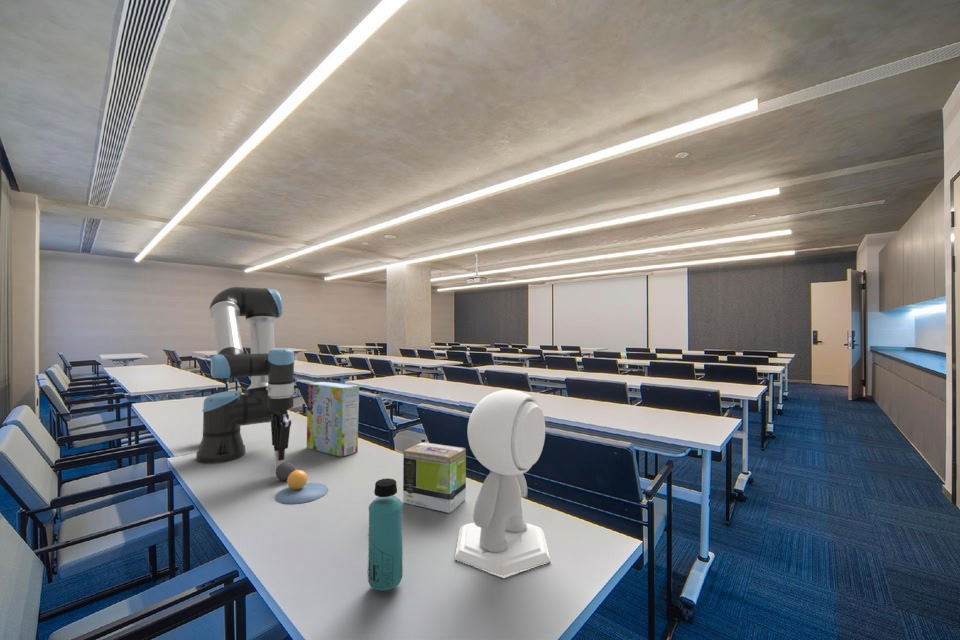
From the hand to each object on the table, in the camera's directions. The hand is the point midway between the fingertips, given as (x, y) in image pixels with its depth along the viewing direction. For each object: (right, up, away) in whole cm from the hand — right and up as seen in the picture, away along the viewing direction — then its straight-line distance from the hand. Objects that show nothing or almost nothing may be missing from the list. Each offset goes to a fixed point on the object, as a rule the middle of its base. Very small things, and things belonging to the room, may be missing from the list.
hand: (279, 469), depth 129 cm
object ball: (+11, +1, -11) cm, 15 cm away
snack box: (+7, -3, +26) cm, 27 cm away
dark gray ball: (+4, +1, -4) cm, 6 cm away
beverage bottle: (+47, -2, -55) cm, 72 cm away
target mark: (+13, -2, -14) cm, 19 cm away
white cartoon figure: (+70, -2, -40) cm, 81 cm away
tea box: (+52, -3, -18) cm, 55 cm away
